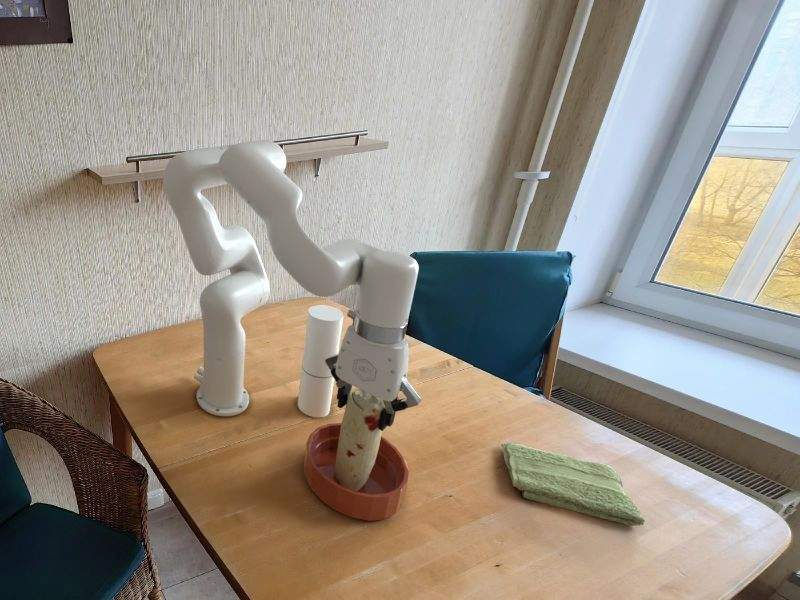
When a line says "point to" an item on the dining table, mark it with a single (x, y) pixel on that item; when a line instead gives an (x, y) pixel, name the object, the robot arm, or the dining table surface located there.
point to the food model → (358, 439)
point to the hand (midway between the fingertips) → (363, 414)
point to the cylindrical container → (319, 359)
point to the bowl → (376, 494)
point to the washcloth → (570, 483)
